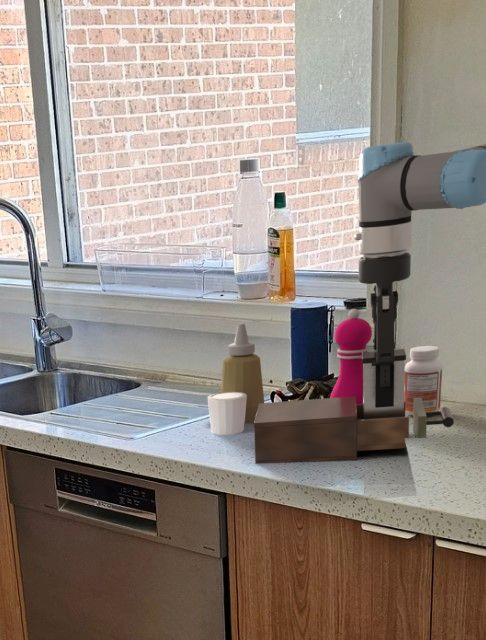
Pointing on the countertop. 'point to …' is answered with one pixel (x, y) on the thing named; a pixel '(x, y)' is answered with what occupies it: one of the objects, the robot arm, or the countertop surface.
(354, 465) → the countertop surface
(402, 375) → the white rectangular block
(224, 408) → the white tapered cup
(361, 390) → the pepper mill
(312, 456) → the cabinet
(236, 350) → the squeeze bottle
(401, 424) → the drawer
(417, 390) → the pill bottle
